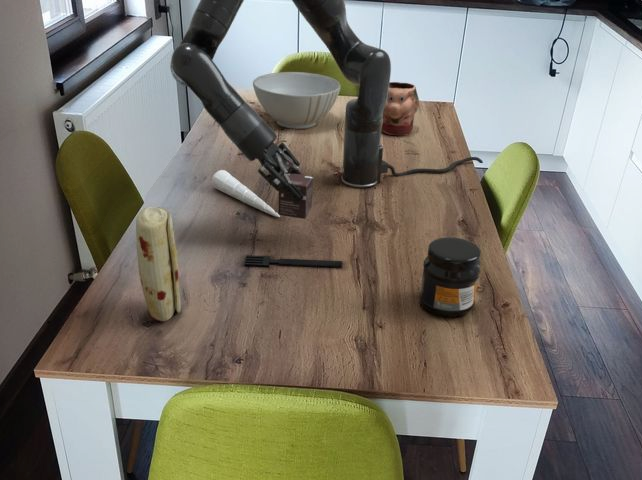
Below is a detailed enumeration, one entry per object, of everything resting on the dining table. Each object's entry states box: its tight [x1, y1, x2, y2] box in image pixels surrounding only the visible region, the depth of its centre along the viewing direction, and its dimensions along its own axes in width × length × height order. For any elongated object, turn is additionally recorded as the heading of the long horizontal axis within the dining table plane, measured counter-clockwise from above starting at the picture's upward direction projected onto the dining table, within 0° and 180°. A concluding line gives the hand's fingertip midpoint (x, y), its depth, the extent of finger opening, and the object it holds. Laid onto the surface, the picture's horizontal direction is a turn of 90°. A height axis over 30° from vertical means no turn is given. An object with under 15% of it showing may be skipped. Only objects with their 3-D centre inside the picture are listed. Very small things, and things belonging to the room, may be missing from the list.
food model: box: [135, 205, 182, 322], centre depth 122 cm, size 10×7×20 cm
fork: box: [243, 254, 343, 269], centre depth 146 cm, size 20×4×1 cm, turn 90°
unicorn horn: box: [211, 169, 281, 218], centre depth 168 cm, size 5×24×5 cm, turn 40°
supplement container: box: [419, 236, 482, 318], centre depth 131 cm, size 10×10×12 cm
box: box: [277, 173, 314, 220], centre depth 148 cm, size 6×6×7 cm
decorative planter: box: [381, 81, 420, 136], centre depth 216 cm, size 20×12×14 cm, turn 174°
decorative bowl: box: [252, 71, 341, 130], centre depth 219 cm, size 27×27×12 cm
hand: (304, 193), depth 147 cm, fingers closed on box, 6 cm apart
